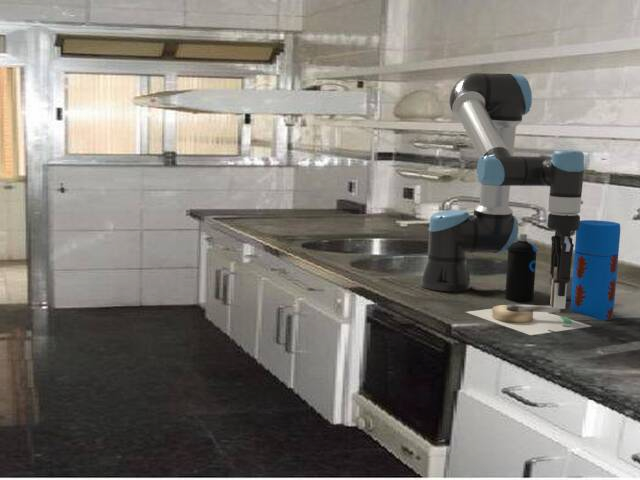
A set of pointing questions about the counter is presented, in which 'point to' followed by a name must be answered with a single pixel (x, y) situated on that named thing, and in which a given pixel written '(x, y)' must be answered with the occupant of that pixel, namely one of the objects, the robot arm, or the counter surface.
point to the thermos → (595, 269)
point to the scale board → (534, 322)
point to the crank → (523, 309)
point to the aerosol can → (521, 271)
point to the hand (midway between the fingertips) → (557, 306)
